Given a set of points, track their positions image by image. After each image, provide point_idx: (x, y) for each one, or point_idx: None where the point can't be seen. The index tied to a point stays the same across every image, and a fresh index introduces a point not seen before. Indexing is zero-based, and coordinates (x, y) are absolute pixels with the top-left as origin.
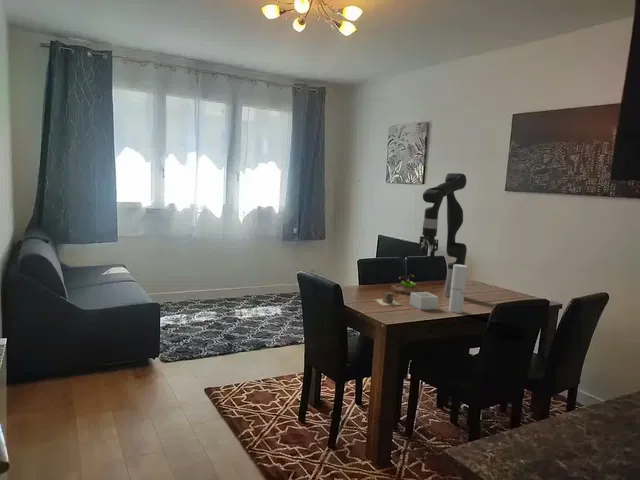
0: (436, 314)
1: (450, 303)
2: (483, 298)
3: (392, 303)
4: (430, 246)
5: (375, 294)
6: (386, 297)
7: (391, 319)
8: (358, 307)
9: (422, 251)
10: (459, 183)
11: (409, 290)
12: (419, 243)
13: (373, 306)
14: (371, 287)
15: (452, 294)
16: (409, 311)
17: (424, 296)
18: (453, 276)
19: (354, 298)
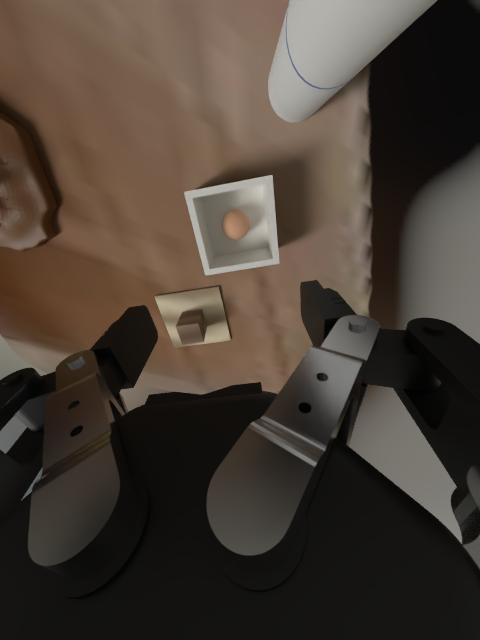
0: (326, 213)
1: (303, 114)
2: None
3: (209, 311)
4: (351, 434)
5: (102, 322)
6: (204, 336)
7: None
8: None
9: (142, 359)
10: None
11: (25, 192)
12: (19, 459)
13: (235, 360)
14: (2, 306)
15: (326, 98)
16: (283, 290)
17: (197, 206)
18: (368, 50)
19: (166, 379)
